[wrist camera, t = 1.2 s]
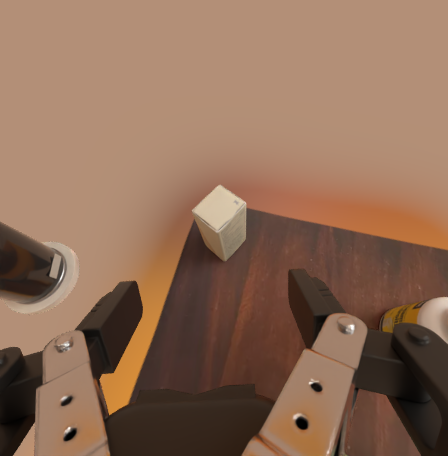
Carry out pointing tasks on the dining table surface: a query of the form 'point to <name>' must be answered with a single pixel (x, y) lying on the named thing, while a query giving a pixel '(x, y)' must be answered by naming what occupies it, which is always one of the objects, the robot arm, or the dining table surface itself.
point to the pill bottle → (420, 316)
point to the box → (221, 221)
